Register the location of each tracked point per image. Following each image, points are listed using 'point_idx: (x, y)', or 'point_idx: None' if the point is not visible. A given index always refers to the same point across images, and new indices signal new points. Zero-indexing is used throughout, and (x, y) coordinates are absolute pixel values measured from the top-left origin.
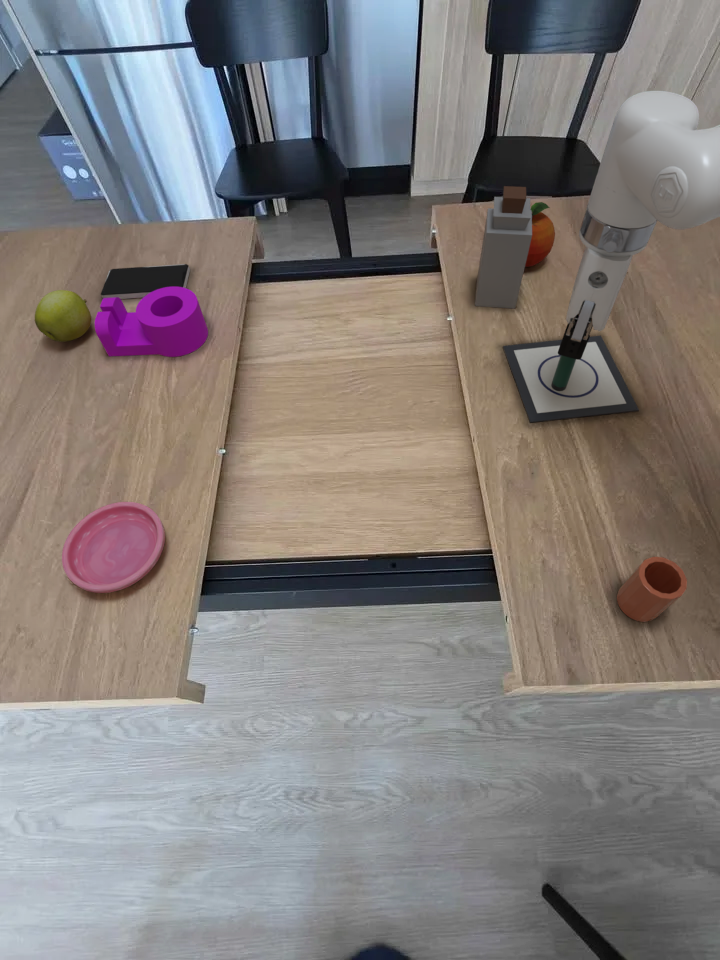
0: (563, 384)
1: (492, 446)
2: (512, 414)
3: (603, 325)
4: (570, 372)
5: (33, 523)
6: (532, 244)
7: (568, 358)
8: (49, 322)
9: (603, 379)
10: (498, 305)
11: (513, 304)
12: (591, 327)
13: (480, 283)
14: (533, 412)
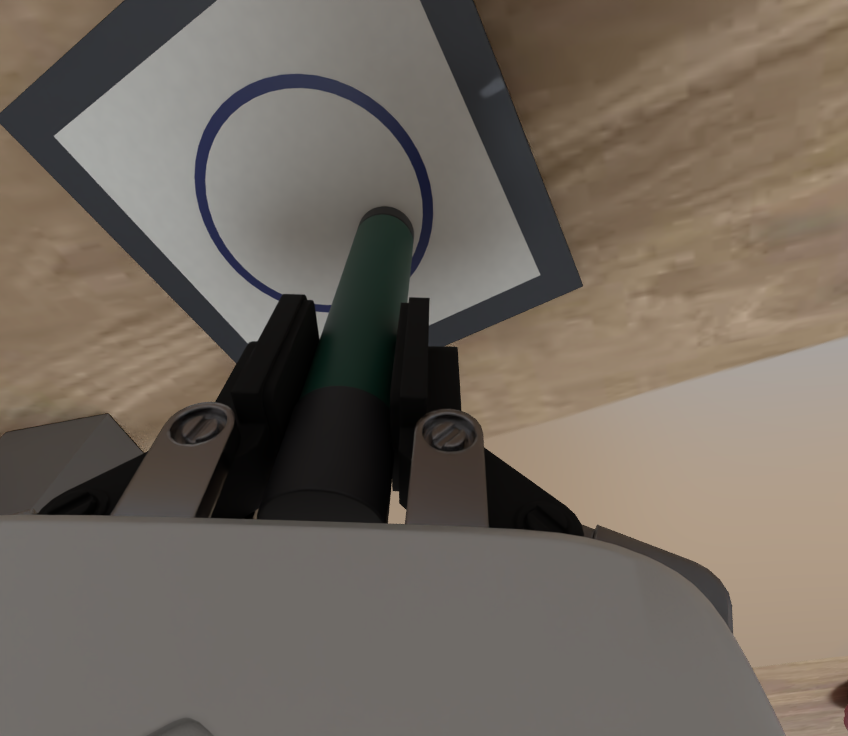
0: (407, 234)
1: (691, 357)
2: (552, 335)
3: (754, 684)
4: (393, 252)
5: (831, 732)
6: None
7: None
8: None
9: (259, 50)
10: (136, 454)
11: (104, 429)
12: (486, 522)
13: None
14: (539, 286)
